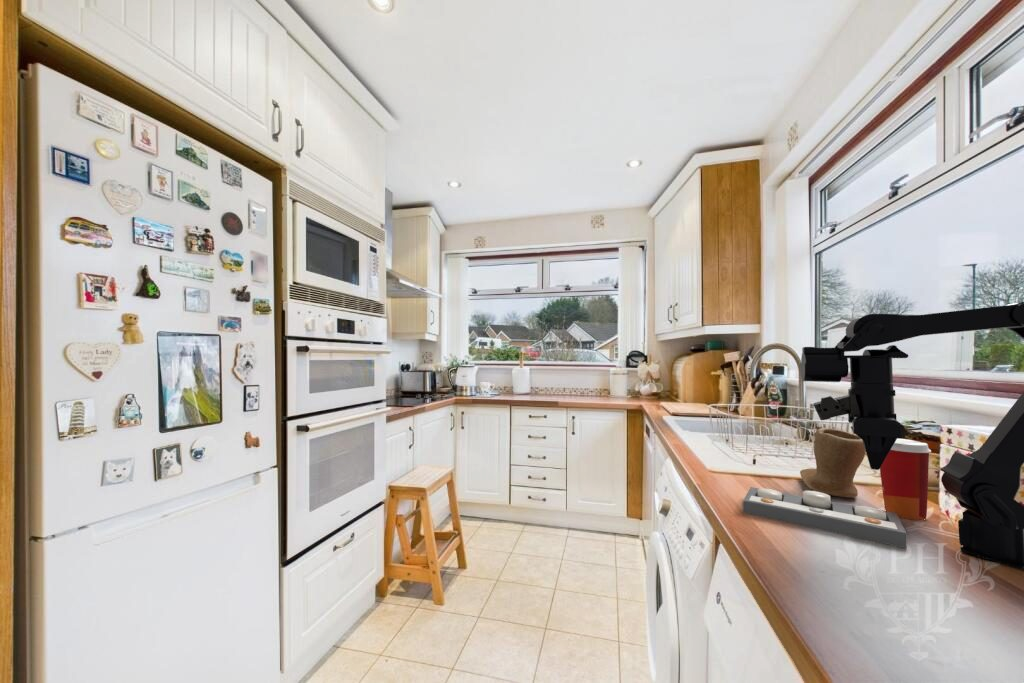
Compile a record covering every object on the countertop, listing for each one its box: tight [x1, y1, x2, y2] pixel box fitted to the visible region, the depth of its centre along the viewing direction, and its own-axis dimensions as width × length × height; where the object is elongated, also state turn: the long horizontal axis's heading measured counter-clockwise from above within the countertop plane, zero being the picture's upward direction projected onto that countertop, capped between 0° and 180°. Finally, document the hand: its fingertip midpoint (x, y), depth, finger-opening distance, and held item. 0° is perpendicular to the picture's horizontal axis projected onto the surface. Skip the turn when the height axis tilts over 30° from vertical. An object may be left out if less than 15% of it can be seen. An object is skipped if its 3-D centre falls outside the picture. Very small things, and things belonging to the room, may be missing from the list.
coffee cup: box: [879, 438, 932, 521], centre depth 80 cm, size 8×8×15 cm
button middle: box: [802, 490, 831, 509], centre depth 78 cm, size 4×4×2 cm
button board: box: [742, 486, 908, 549], centre depth 77 cm, size 24×11×3 cm, turn 51°
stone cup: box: [799, 427, 866, 499], centre depth 94 cm, size 15×12×15 cm
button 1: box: [757, 488, 783, 501], centre depth 83 cm, size 4×4×2 cm
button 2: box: [854, 505, 886, 521], centre depth 73 cm, size 4×4×2 cm
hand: (874, 469), depth 70 cm, fingers closed
